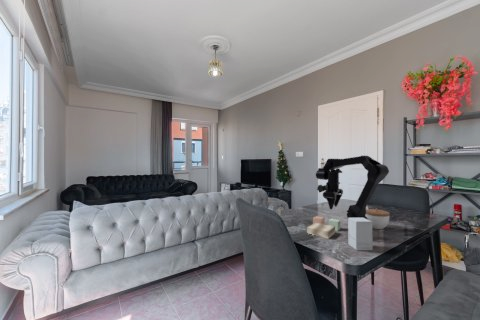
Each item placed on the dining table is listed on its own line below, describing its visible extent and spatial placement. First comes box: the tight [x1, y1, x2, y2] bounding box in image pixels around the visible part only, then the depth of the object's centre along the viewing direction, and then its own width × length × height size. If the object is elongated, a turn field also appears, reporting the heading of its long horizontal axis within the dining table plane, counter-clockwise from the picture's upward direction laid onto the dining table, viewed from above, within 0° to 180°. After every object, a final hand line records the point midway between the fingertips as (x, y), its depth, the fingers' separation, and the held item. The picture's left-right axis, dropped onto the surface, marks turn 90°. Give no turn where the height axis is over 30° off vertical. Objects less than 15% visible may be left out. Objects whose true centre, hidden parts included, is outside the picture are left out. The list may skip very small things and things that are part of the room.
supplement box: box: [347, 217, 373, 251], centre depth 99 cm, size 7×7×13 cm
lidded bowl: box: [365, 207, 390, 230], centre depth 128 cm, size 13×13×11 cm
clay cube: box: [312, 215, 325, 225], centre depth 131 cm, size 5×5×5 cm
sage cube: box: [328, 218, 341, 232], centre depth 125 cm, size 5×5×5 cm
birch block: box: [306, 223, 336, 239], centre depth 117 cm, size 11×11×4 cm
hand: (333, 207), depth 125 cm, fingers open, 9 cm apart
